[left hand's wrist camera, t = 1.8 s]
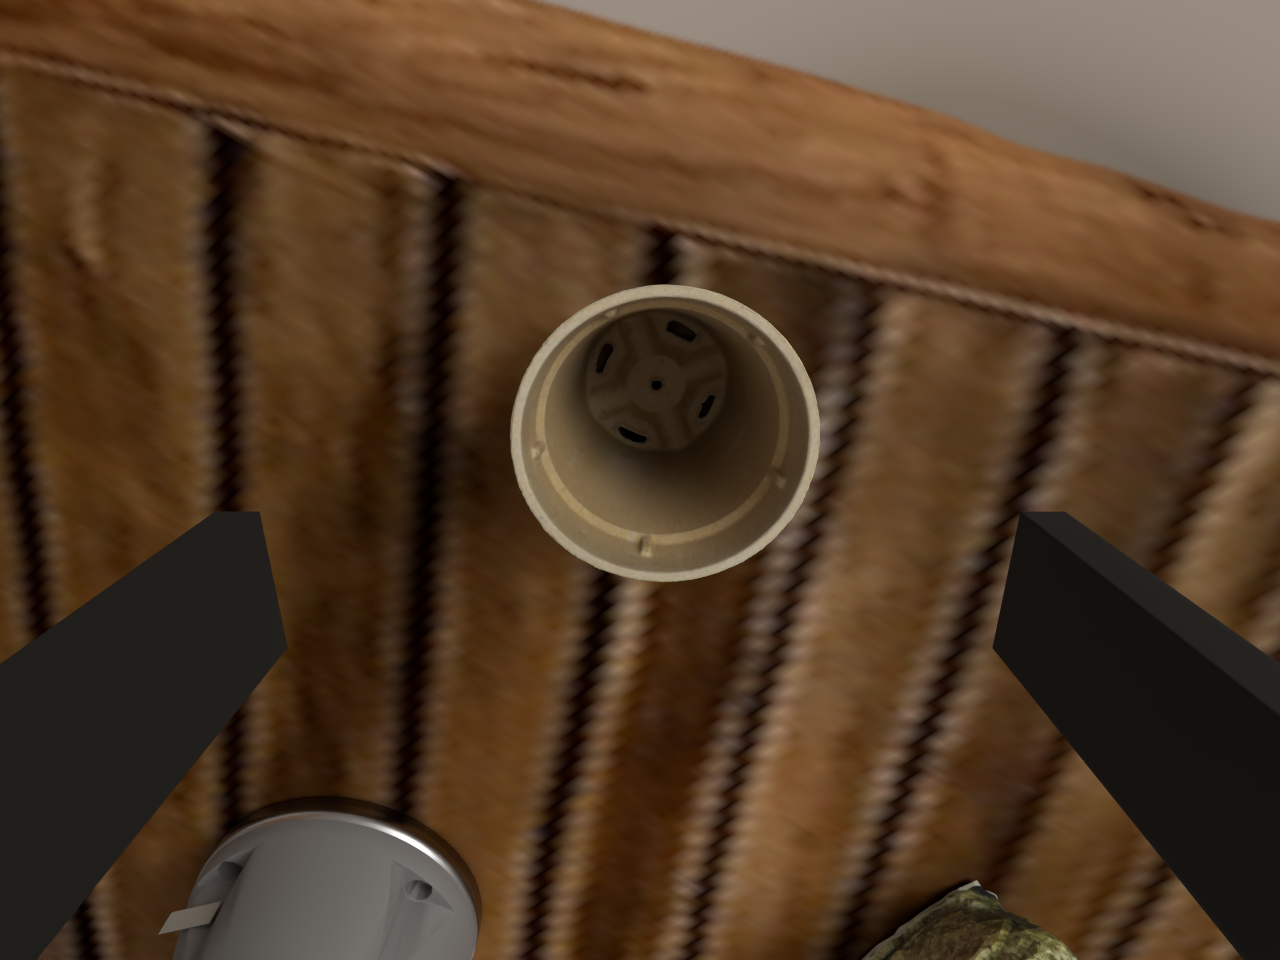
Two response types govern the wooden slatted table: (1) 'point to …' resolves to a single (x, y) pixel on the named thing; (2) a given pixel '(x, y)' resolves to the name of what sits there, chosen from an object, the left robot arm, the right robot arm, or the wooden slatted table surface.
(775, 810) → the wooden slatted table surface
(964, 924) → the fossil
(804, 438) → the plastic plant pot
